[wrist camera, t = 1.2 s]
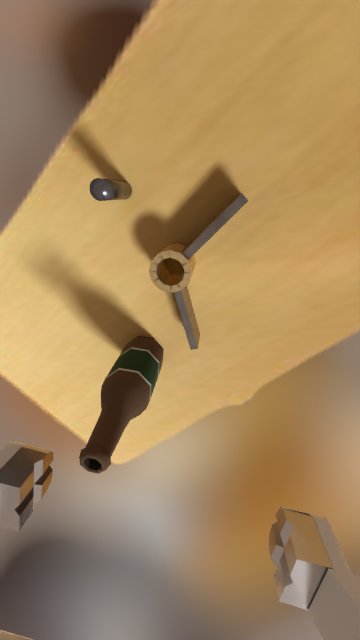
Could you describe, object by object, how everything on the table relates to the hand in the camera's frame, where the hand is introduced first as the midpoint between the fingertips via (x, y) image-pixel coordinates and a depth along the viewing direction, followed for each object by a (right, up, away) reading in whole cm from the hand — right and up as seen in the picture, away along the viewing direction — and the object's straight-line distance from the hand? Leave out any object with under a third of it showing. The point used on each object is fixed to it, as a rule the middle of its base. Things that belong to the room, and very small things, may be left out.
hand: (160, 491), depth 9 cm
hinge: (+5, +14, +34) cm, 37 cm away
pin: (-8, +25, +30) cm, 40 cm away
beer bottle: (-6, 0, +43) cm, 43 cm away
